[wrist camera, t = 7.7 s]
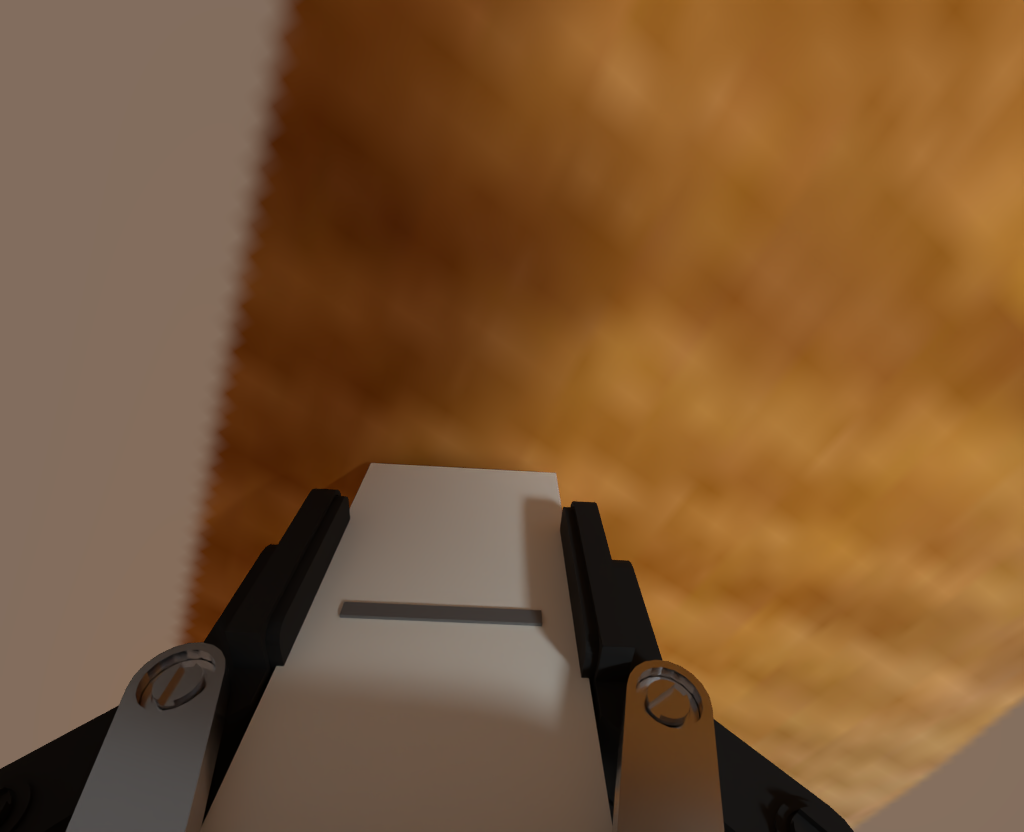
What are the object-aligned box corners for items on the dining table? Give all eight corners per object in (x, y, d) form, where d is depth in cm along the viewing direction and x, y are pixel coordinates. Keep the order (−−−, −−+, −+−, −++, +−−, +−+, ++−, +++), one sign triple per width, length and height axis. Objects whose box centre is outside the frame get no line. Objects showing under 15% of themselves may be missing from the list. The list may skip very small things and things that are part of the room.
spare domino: (370, 460, 13) (96, 1044, 4) (556, 470, 14) (651, 1051, 5) (374, 511, 14) (143, 1099, 5) (550, 520, 14) (620, 1104, 5)
